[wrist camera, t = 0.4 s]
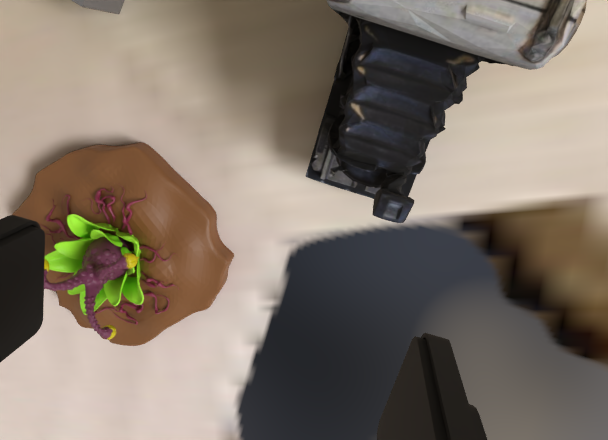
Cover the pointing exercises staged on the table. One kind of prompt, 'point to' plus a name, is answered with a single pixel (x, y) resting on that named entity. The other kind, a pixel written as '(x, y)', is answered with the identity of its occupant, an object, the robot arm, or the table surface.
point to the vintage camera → (419, 82)
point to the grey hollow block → (102, 5)
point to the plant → (126, 241)
